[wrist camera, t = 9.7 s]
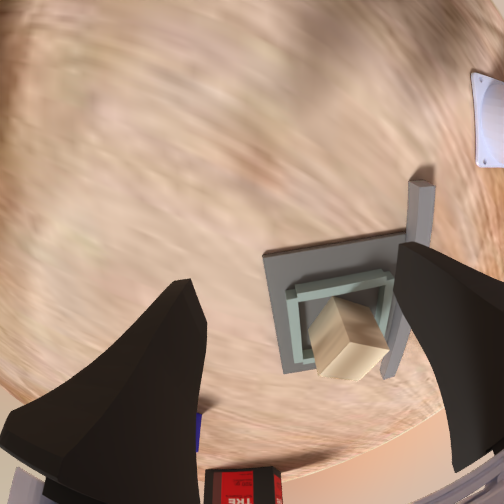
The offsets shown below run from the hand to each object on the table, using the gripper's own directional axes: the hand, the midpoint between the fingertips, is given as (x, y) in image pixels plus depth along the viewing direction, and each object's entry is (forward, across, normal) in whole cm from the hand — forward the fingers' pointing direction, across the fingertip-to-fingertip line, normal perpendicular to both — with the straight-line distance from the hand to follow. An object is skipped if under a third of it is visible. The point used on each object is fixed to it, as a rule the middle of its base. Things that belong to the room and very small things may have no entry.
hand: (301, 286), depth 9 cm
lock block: (+9, -4, +11) cm, 15 cm away
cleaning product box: (+10, +15, +64) cm, 66 cm away
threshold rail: (+9, -10, +11) cm, 18 cm away
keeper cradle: (+9, -4, +11) cm, 15 cm away
